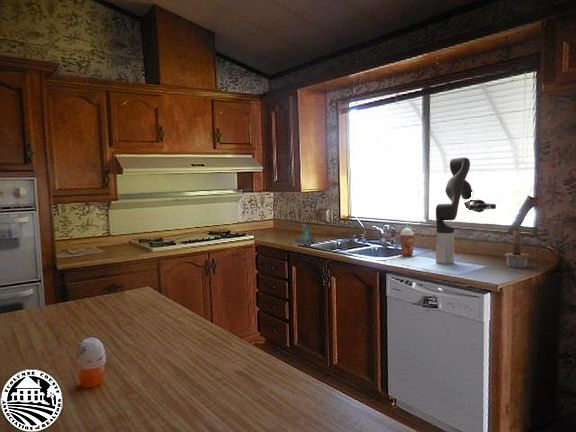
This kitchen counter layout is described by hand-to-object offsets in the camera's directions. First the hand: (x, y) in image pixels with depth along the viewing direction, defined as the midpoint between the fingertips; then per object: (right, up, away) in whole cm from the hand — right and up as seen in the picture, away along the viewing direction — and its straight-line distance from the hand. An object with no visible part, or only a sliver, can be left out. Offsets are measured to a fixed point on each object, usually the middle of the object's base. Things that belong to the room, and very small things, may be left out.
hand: (485, 207), depth 253 cm
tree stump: (-103, -27, +87) cm, 138 cm away
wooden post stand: (+6, -27, -22) cm, 35 cm away
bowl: (+6, -32, -22) cm, 39 cm away
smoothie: (-40, -30, +20) cm, 54 cm away
